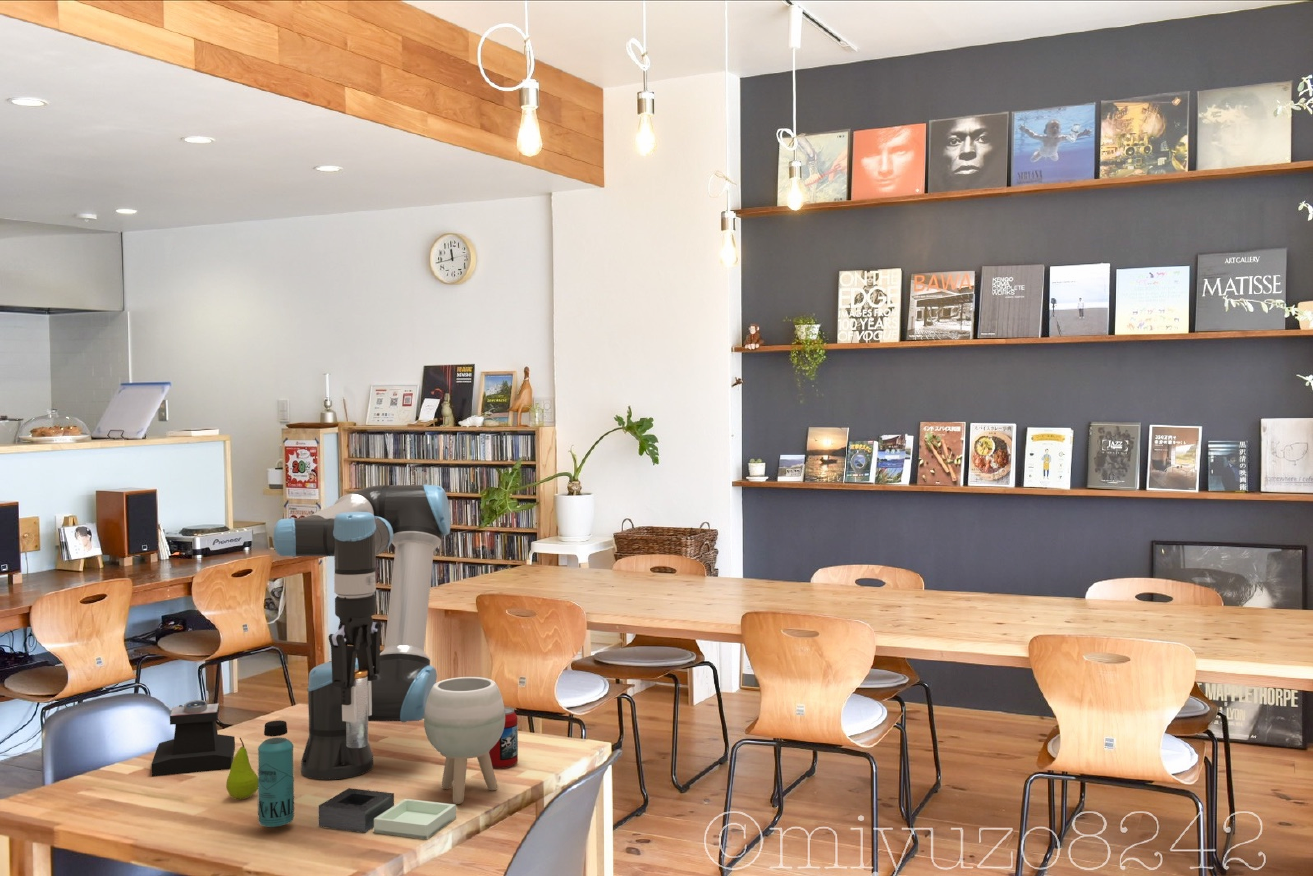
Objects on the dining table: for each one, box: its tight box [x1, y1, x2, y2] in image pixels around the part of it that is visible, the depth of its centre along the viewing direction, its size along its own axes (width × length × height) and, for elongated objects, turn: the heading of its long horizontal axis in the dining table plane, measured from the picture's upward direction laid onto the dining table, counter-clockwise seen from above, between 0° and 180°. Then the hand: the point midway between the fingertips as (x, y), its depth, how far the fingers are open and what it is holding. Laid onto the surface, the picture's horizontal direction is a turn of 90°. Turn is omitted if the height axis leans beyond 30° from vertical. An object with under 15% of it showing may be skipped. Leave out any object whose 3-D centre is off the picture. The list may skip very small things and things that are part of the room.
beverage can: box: [489, 706, 519, 769], centre depth 244 cm, size 7×7×12 cm
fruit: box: [226, 737, 258, 801], centre depth 224 cm, size 6×6×12 cm
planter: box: [423, 676, 505, 805], centre depth 225 cm, size 16×16×22 cm
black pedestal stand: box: [150, 699, 236, 778], centre depth 246 cm, size 16×14×15 cm
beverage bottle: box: [257, 719, 295, 828], centre depth 207 cm, size 6×7×20 cm
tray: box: [373, 798, 457, 841], centre depth 209 cm, size 11×11×3 cm
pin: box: [346, 669, 369, 748], centre depth 211 cm, size 4×4×14 cm
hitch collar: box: [318, 787, 395, 834], centre depth 211 cm, size 10×10×4 cm
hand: (357, 717), depth 211 cm, fingers closed on pin, 4 cm apart
